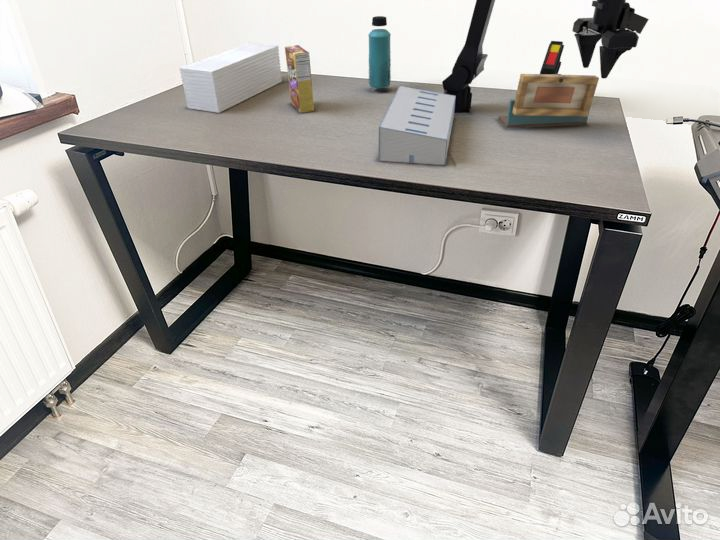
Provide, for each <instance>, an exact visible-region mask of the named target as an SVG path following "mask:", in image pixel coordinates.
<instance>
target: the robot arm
mask: <svg viewBox="0 0 720 540" xmlns="http://www.w3.org/2000/svg"><path fill="white" fill-rule="evenodd" d="M495 3H496V0H476V1H475V4H474V8H473V12H472V16H471V19H470V23H469V27H468V32H467V34H466V39H465V43H464V44H463V47H462V49H461V51H460V53H459V54H458V56H457V58H456V60H455V63H454V65H453V67H452V70H451V73H450V74H449V75H448V76H447V77H446V78H444V80H442V82H441V84H442V88H443V94H449V95H454V96H456V100H455V111H454V114H468V113H471V109H472V101H473V100H472V99H473V92H472V91H471V90H472V87H471V86H470V85H472V83H473V81H474V80H475V79H476V78H477V77H479V75H480V74H481V73H482V72H483V71H485V63H486V61H487V58H488V54H487V53H483V52H484V51H483V46H484V45H483V44H484V41H485V37H486V34H487V30H488V27H489V23H490V20H491V17H492V13H493V10H494V6H495ZM591 7H594V10H593V16H592V17H579V18H577V19H576V20H575V21H574V22H573V26H572V30H571V31H572V32H573V33H574V34H573V35H574V37H575V40H576V43H577V48H578V51H579V56H580V59H581V63H582V68H584V69H588V68H589V67H590V65H591V62H592V59H593V57H594V56H593V55H594V52H595V49H596V46H597V44H598V43H599V41H600V43H601V45H599V66H600V69H599V70H600V77H601V79H608V76H609V75H610V73H611V71H612V70H613V69H614V66H615V65H616V63H617V61H618V60H619V59H620V57H621V56H622V55H623V54H624V53H626V52H628V51H631V50H632V49H633V48H637V46H638V42H639V39H640V38H639V35H641V34H642V32H643V30H644V29H645V26H646V25H647V23H648V21H649V20H650V19H649V18H647V17H644V16H642V15H640V14H638V13H635V12H636V9H635V8H634V7H631V5H630V2H627V0H592V2H591ZM638 34H639V35H638Z"/></svg>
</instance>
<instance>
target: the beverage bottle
mask: <svg viewBox="0 0 720 540" xmlns="http://www.w3.org/2000/svg"><path fill="white" fill-rule="evenodd" d="M371 20H372V21H371V26H373V27H385V26H387V25H388V22H387V20H388V19H387V16H383V15H377V16H373V17H372V19H371ZM367 36H368V56H367V57H368V61H367V62H368V85H369V86H370V88H375V89H386V88H388V87H390V86H391V79H392V78H391V67H392V66H391V60H392V59H391V58H392V57H391V56H392V55H391V33H390V31H389V30H388V29H386V28H374V29H372V30H371V31H370V32H369V33H368V35H367Z"/></svg>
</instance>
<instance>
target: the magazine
mask: <svg viewBox="0 0 720 540" xmlns="http://www.w3.org/2000/svg"><path fill="white" fill-rule="evenodd" d="M564 48H565V44H564V41H559V40H551V41H550V43H549V44H548V47H547V50H546V52H545V53H546V54H545V56H544V59H543V61H542V65H541V68H540V71H539V74H559V71H560V68H561V65H562V61H561V59H562V58H561V57H562V54H563V51H564Z"/></svg>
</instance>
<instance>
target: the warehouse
mask: <svg viewBox="0 0 720 540" xmlns="http://www.w3.org/2000/svg"><path fill="white" fill-rule="evenodd" d="M455 100H456V96H454V95H449V94H444V92H443V93H442V92H437V91H433V90H426V89H422V88H421V89H420V88H414V87H408V86H404V85H399V86H398V88H397V90H396V92H395V93H394V96H393V98H392V99H391V102H390V103H389V106H388V107H387V110H386V112H385V113H384V116H383V118H382V120H381V121H380V124H379V126H378V162H393V163H406V164H407V163H409V164H410V163H411V164H421V165H422V164H423V165H434V166H435V165H437V166H446V162H447V157H448V152H449V145H450V140H451V133H452V129H453V123H454V117H455V113H454V111H455Z"/></svg>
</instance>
